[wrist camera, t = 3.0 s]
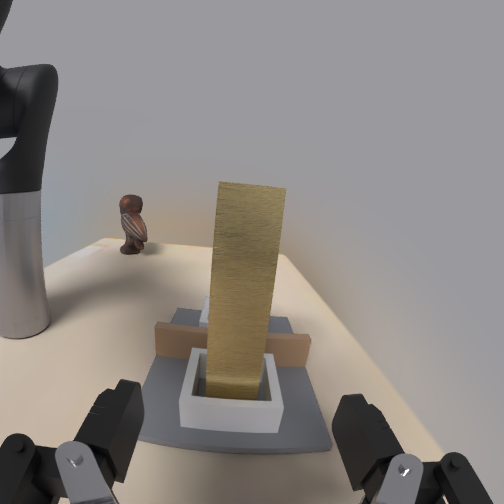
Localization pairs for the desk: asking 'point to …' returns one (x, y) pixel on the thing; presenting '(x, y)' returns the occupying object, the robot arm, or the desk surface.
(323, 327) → the desk surface
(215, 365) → the post
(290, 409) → the plate
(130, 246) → the figurine
